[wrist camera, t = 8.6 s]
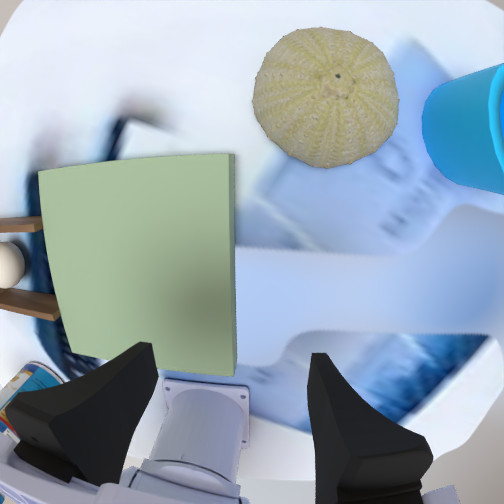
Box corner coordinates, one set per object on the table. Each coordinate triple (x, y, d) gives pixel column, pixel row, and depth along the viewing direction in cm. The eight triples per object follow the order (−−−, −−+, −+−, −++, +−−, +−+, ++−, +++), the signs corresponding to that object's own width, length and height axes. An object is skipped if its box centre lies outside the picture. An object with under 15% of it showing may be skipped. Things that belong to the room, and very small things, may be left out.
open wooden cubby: (82, 331, 25) (42, 372, 19) (15, 316, 26) (-23, 346, 19) (60, 214, 22) (2, 236, 15) (-7, 219, 23) (-55, 237, 16)
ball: (-14, 294, 20) (6, 269, 24) (17, 300, 21) (36, 273, 25) (-28, 255, 18) (-4, 232, 22) (3, 259, 19) (26, 234, 23)
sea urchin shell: (212, 112, 17) (269, 8, 10) (272, 72, 21) (326, -2, 14) (325, 208, 18) (423, 139, 11) (360, 147, 22) (431, 89, 15)
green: (237, 358, 24) (233, 376, 22) (84, 339, 25) (72, 352, 23) (234, 154, 20) (228, 153, 17) (56, 169, 21) (38, 171, 18)
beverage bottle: (82, 420, 30) (14, 531, 11) (34, 396, 30) (-38, 489, 11) (69, 374, 27) (-25, 499, 8) (19, 349, 28) (-76, 446, 9)
